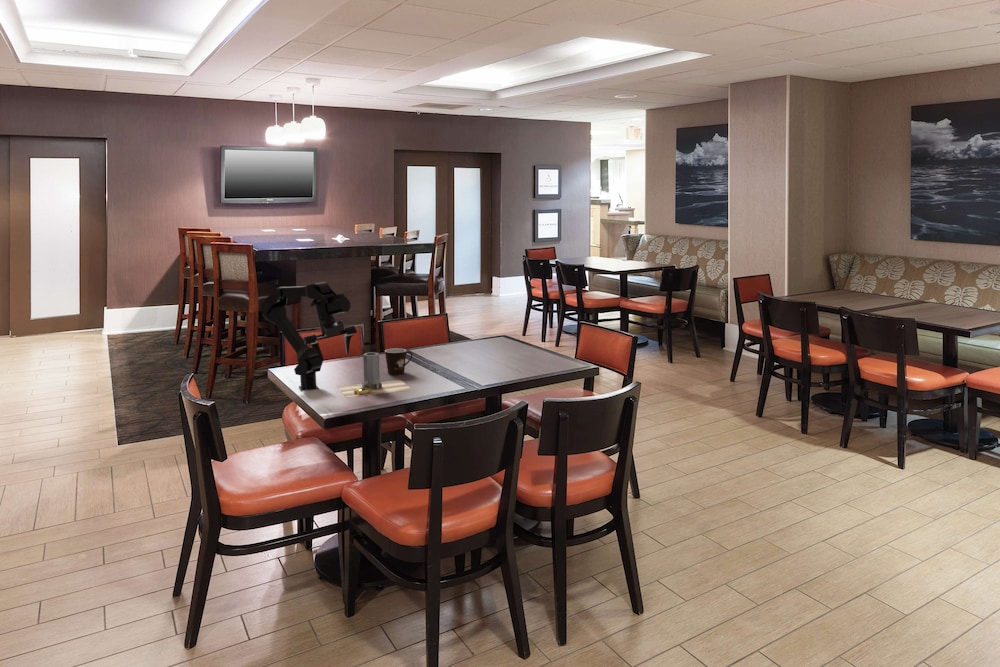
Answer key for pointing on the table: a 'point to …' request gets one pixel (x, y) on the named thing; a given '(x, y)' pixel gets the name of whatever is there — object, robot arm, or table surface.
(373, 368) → the grey octagonal tube
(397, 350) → the coffee mug
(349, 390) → the gear board
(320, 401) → the table surface
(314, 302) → the robot arm
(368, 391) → the brass gear
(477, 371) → the table surface
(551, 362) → the table surface
